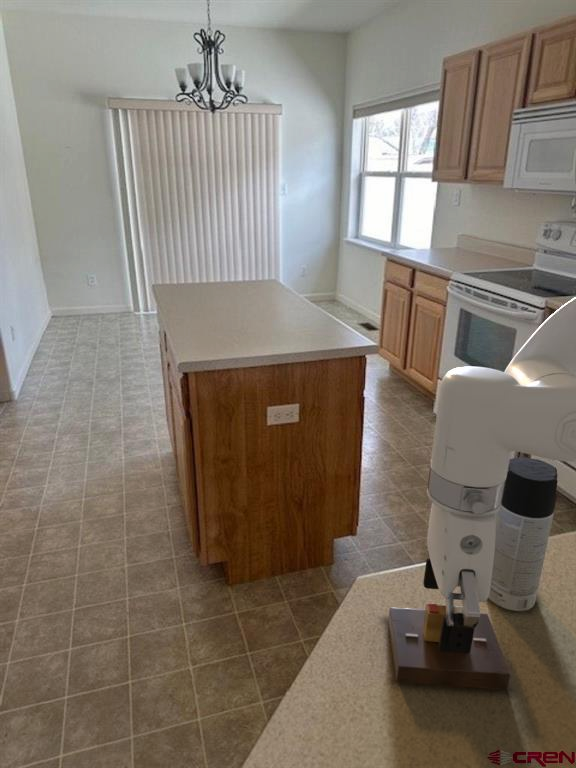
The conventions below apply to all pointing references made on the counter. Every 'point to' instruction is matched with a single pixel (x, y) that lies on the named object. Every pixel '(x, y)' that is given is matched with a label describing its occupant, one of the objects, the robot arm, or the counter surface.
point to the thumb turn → (435, 621)
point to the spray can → (522, 532)
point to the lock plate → (445, 655)
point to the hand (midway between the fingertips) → (444, 616)
